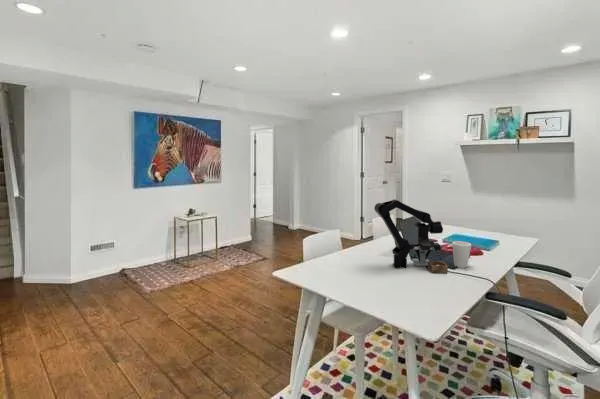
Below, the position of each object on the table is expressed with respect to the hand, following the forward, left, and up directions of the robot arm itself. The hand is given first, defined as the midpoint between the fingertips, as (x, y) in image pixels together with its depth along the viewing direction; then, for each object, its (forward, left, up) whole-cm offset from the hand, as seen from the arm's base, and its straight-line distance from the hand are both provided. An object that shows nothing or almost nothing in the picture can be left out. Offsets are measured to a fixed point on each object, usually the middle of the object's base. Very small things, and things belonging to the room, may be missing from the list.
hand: (422, 260), depth 191 cm
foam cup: (+21, 0, -3) cm, 21 cm away
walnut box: (+6, -9, -3) cm, 11 cm away
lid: (0, 0, -1) cm, 1 cm away
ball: (+6, -9, -1) cm, 11 cm away
